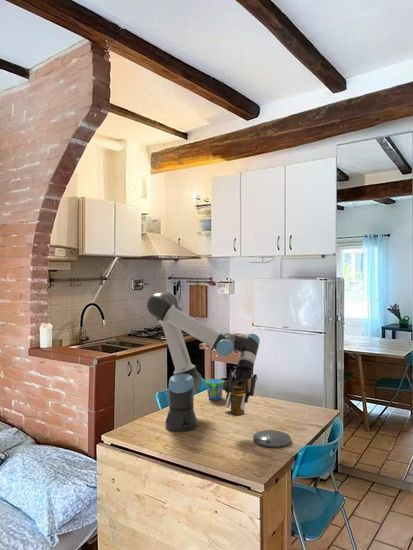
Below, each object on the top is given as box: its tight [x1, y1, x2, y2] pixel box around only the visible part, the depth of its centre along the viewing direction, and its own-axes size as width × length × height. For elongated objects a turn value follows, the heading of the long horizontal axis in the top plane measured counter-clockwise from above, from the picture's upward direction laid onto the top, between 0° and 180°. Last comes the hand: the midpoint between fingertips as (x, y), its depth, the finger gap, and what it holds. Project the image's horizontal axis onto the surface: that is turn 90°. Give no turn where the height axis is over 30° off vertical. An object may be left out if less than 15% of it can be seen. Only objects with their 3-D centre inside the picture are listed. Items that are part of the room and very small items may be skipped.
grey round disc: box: [252, 429, 292, 449], centre depth 183 cm, size 16×16×4 cm
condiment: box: [223, 384, 248, 418], centre depth 189 cm, size 7×8×12 cm
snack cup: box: [205, 378, 225, 401], centre depth 244 cm, size 16×10×10 cm
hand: (234, 407), depth 186 cm, fingers closed on condiment, 6 cm apart
